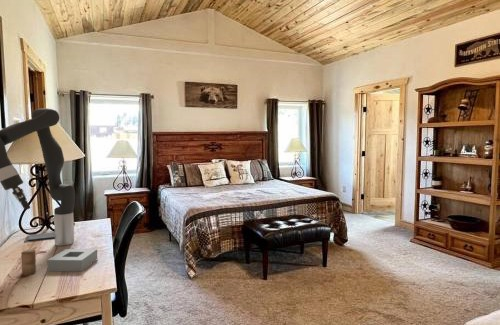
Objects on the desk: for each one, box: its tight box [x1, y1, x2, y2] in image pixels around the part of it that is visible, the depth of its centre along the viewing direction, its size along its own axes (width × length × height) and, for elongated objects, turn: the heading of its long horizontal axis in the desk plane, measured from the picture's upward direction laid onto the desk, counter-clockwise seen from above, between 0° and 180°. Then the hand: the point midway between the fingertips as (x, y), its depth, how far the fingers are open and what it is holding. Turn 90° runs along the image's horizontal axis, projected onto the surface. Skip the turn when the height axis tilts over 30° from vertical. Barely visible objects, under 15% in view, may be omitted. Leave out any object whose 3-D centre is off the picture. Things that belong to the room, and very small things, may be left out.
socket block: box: [46, 248, 98, 272], centre depth 151 cm, size 15×15×5 cm
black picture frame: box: [23, 231, 55, 244], centre depth 194 cm, size 20×2×15 cm
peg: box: [20, 249, 37, 276], centre depth 141 cm, size 5×5×10 cm
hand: (27, 209), depth 148 cm, fingers open, 8 cm apart
